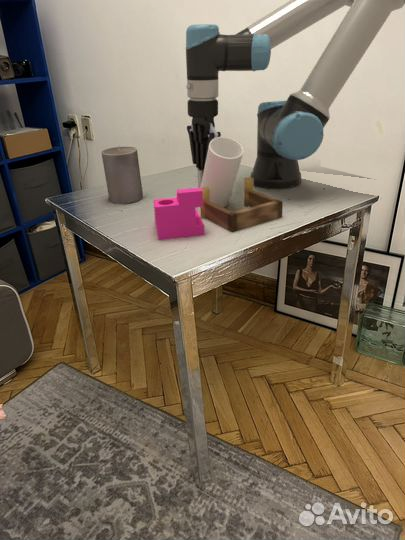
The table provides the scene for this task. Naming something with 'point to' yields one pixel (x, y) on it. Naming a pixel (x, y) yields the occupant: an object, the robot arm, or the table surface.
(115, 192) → the pillar candle
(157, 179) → the table surface
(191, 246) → the table surface
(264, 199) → the bay
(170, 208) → the bracket
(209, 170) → the cup
